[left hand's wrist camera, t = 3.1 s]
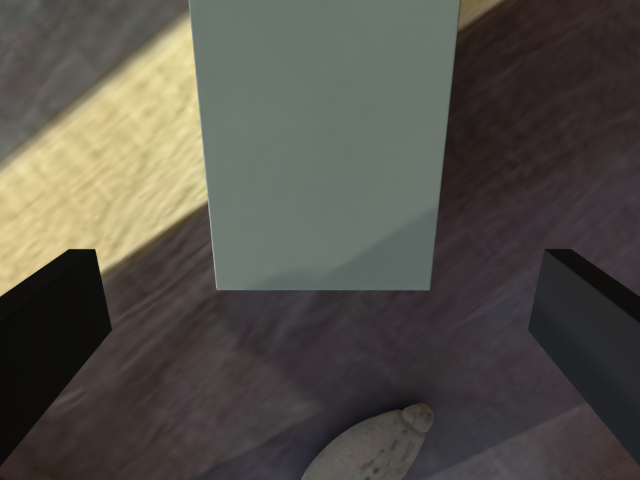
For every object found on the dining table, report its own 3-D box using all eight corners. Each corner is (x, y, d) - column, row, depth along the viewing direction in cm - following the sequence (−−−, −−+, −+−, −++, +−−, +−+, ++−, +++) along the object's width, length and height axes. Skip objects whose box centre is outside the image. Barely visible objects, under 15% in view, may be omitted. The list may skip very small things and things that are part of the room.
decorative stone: (450, 413, 35) (463, 447, 31) (327, 515, 39) (328, 554, 36) (395, 374, 33) (403, 405, 30) (274, 484, 37) (270, 522, 34)
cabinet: (227, -62, 23) (174, -142, 15) (419, -62, 23) (476, -142, 15) (246, 228, 29) (216, 290, 21) (398, 228, 29) (430, 290, 21)
